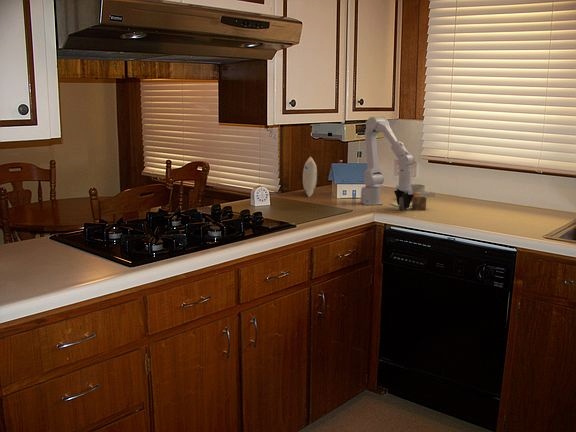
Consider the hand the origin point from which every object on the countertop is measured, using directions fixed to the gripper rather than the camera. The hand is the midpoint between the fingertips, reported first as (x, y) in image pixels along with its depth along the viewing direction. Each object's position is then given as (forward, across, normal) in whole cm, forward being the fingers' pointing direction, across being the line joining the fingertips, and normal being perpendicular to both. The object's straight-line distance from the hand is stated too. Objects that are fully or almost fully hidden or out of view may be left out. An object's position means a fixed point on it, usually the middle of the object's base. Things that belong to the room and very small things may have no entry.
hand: (403, 206), depth 290 cm
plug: (+2, 0, 0) cm, 2 cm away
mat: (+2, +11, -5) cm, 12 cm away
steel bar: (-5, 0, -11) cm, 12 cm away
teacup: (+2, +25, -18) cm, 31 cm away
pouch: (+2, +47, +34) cm, 58 cm away
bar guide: (+2, 0, -8) cm, 9 cm away
